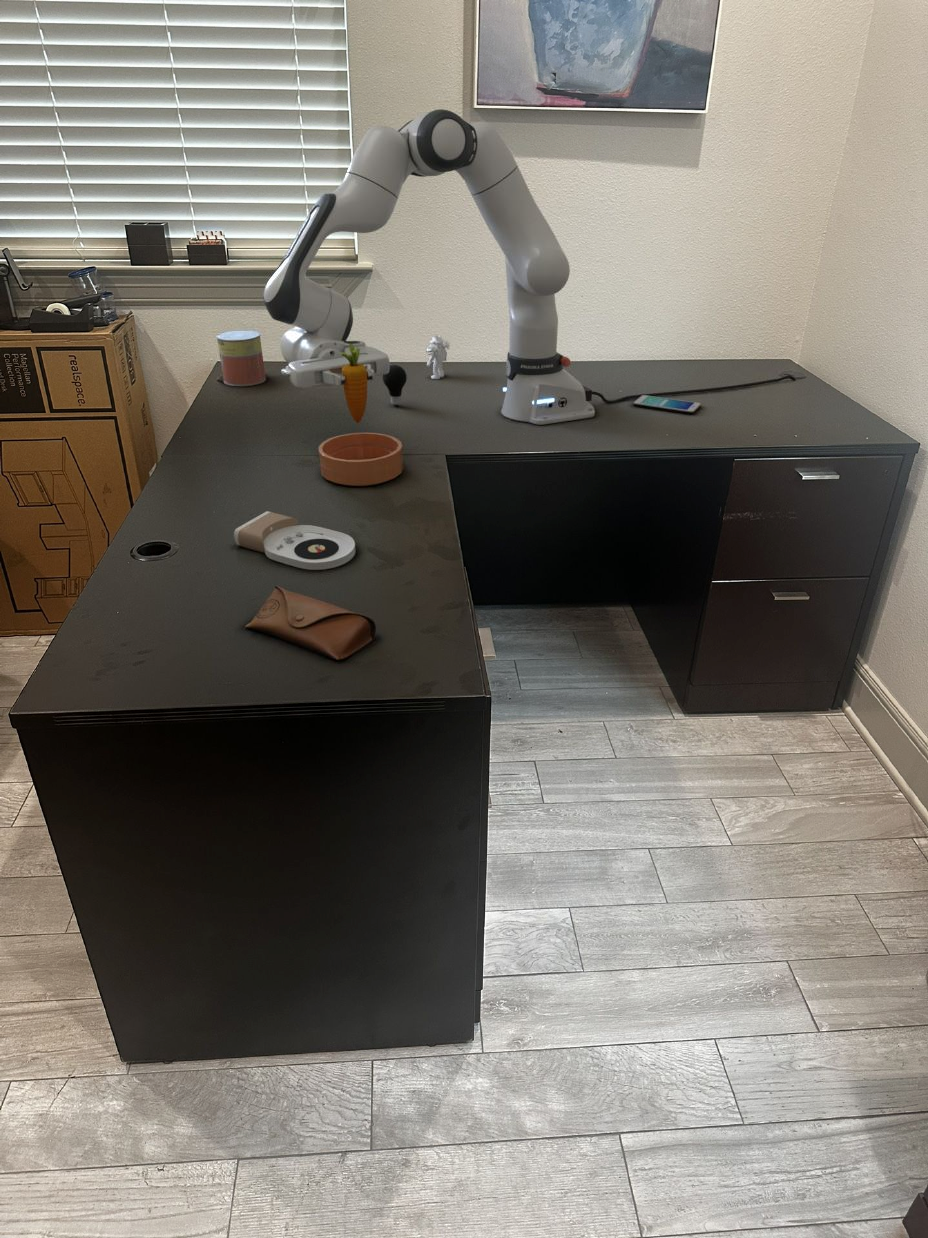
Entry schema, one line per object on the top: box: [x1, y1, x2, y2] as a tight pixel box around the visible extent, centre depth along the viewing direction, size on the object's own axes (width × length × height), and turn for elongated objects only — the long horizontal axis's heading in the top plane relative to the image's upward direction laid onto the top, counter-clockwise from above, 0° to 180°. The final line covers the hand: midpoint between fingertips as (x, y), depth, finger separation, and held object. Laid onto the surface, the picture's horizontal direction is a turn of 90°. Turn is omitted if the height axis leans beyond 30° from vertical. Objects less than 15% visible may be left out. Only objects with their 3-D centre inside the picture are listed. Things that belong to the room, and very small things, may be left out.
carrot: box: [341, 344, 368, 424], centre depth 160 cm, size 5×5×15 cm
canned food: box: [216, 329, 267, 387], centre depth 224 cm, size 11×11×12 cm
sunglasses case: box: [244, 585, 377, 661], centre depth 118 cm, size 18×7×7 cm
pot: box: [318, 432, 404, 487], centre depth 168 cm, size 17×17×6 cm
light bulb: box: [382, 364, 408, 407], centre depth 204 cm, size 6×6×10 cm
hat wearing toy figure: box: [425, 334, 451, 380], centre depth 226 cm, size 9×4×12 cm, turn 148°
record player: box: [233, 510, 356, 571], centre depth 140 cm, size 12×3×20 cm
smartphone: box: [633, 395, 702, 415], centre depth 205 cm, size 8×1×15 cm
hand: (357, 378), depth 159 cm, fingers closed on carrot, 5 cm apart
